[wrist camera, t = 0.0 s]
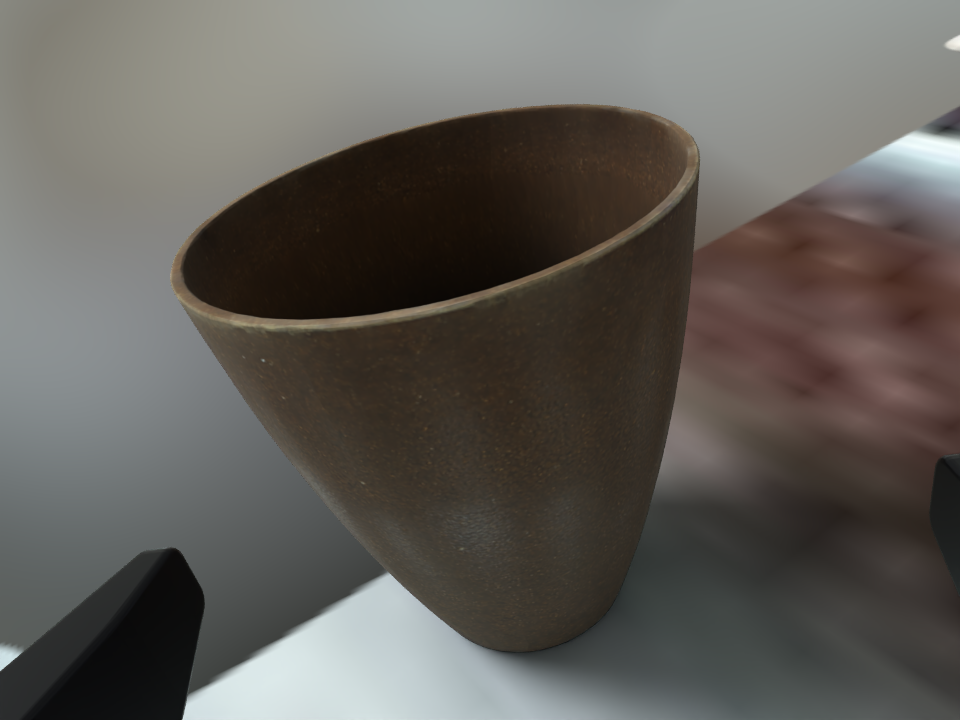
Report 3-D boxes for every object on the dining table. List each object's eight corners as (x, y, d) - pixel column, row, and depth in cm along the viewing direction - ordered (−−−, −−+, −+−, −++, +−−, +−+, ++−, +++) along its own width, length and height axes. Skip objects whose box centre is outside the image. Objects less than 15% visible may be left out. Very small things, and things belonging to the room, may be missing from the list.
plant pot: (356, 826, 24) (125, 399, 15) (327, 510, 36) (192, 182, 28) (810, 667, 25) (823, 195, 17) (629, 416, 38) (586, 76, 29)
